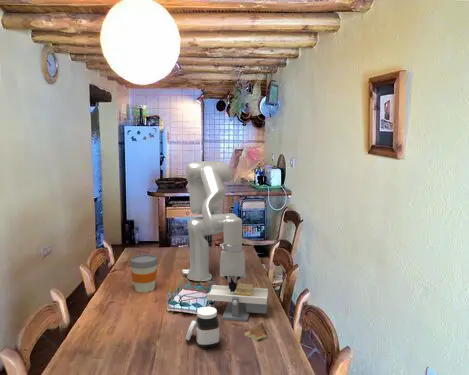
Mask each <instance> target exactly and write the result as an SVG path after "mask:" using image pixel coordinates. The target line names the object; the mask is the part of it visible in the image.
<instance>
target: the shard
mask: <svg viewBox="0 0 469 375" xmlns="http://www.w3.org/2000/svg"><path fill="white" fill-rule="evenodd" d="M244 336H245V337H247V338H249V339H252V340H254V341H256V342H258V341H259V340H260V341H261V340H262V339H268V337H269V336H268V333H267V331H266V328H265V326H264V324H263V322H260V323H258V324H257V325H255V326H253V327H251V328H250V329H248V330H247V331H246V332H244Z"/></svg>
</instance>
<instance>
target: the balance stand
mask: <svg viewBox="0 0 469 375" xmlns="http://www.w3.org/2000/svg"><path fill="white" fill-rule="evenodd" d="M237 286H238V284H237ZM250 314H251V312H246V303H239V297H233V298H232V302H227V305H226V307H225V310H224V313H223V314H222V316H221V320H223V321H224V320H225V321H237V322H238V321H239V322H248V321H249V316H250Z"/></svg>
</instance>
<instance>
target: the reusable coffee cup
mask: <svg viewBox="0 0 469 375" xmlns="http://www.w3.org/2000/svg"><path fill="white" fill-rule="evenodd" d="M130 267H131V271H130V273H131V278H132V282H133V285H134V290H136V291H139V292H147V293H149V292H148V291H151V292H153V291H154V290H155V288H156V280H157V276H158V257H157V256H156V255H155V254H154V255H153V254H138V255H135V256H133V257H131V258H130ZM152 290H153V291H152ZM136 291H135V292H136ZM139 292H138V293H139Z"/></svg>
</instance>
